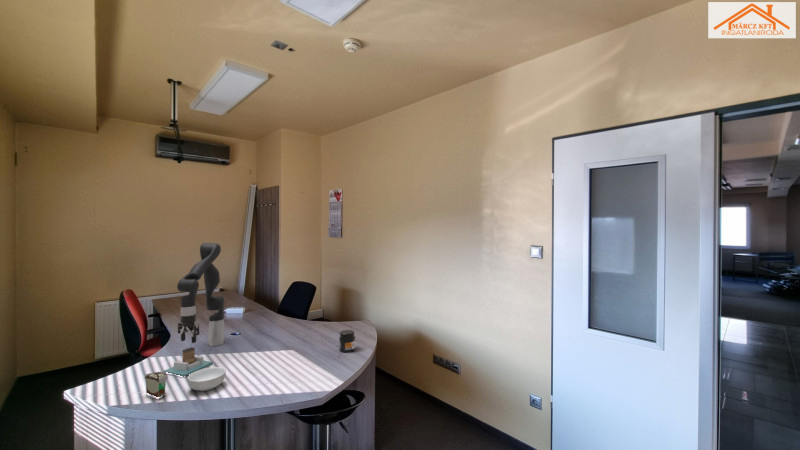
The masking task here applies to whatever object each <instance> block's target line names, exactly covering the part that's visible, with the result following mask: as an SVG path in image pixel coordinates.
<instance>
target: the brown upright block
mask: <svg viewBox="0 0 800 450" xmlns="http://www.w3.org/2000/svg"><path fill="white" fill-rule="evenodd" d="M195 351H196V350H195V347H193V346H190V347H188V348H185V349H183V350H182V362H187V363H189V364H192V363H194V362H195V356H196V355H195Z"/></svg>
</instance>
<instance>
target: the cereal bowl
mask: <svg viewBox="0 0 800 450" xmlns="http://www.w3.org/2000/svg"><path fill="white" fill-rule="evenodd" d="M226 372H227V370H226V369H225V368H224V367H220V366H217V367H214V366H213V367H206V368H204V369H201V370H198V371H196V372H194V373H192V374H190V375H189V376H187V384H188V386H189V387H190V389H192V390H193V391H199V390H200V391H199V392H206V391H210V390H213V389H214V388H216V387H218V386H220V385H221V384H222V383H223V381H225V379H226Z"/></svg>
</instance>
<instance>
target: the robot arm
mask: <svg viewBox="0 0 800 450" xmlns="http://www.w3.org/2000/svg"><path fill="white" fill-rule="evenodd" d="M221 248H222V247H221V245H220V244H219V243H213V242H202V243H201V245H200V246H199V253H200V254H199V255H200V259H201V260H200V261H198V262H197V263H195V264H194V265H193V266H192V267H191V269H190V270H189V272H188V273H187V274H186V275H184V276H183V277H182V278H181V279H180V280H179V281H178V283H177V284H176V288H177V290H178V292H180V293H186V292H189V293H188V295H183V296H182V297H181V299H180V322H178V323H177V334H179V335H180V341H181V342H184V341H186V332H188V334H189V335H191V344H195V343H196V342H197V336H199V335H200V325H199V324H195V323H196V321H197V307H196V299H197V294H198V290H199V287H200V284H199V281H200V279H201V278H202V276H203V279H204V280H203V281H204V286H205V287H204V288H205V302H206V304H205V306H206V309H207V311H217V312H216V313H214V314H213V313H212V314H211V315H209V316H208V331H207V345H208V346H210V347H216V346H217V347H218V346H221V345H224V343H225V297H224V296H220V295H219V296H213V293H214V291H216V289H217V287H218V286H219V284H220V282H221V278H220V276H221V275H220V271H219V270H218V268H217V267H216V266H215V265H214V264H213V262H214V261H216V259H217V258H218V257H219V255H220V254H221V250H222V249H221Z"/></svg>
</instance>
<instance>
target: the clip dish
mask: <svg viewBox="0 0 800 450" xmlns="http://www.w3.org/2000/svg"><path fill="white" fill-rule="evenodd" d="M213 364H214V362H213V361H209V360H204V357H203V356H201V355H195V362H194V363H192V364H189V363H187V362H183V361H181V360H175V361H174V362H173V367H169V368H167V369H165V370H163V371H162V372H168V373H172V374H176V375H180V376H183V377H184V376H186V375H189V374H191V373H194V372H196V371H198V370H201V369H205V368H209V367H210V366H213ZM183 377H182V378H183ZM186 377H187V376H186ZM184 378H185V377H184Z"/></svg>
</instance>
